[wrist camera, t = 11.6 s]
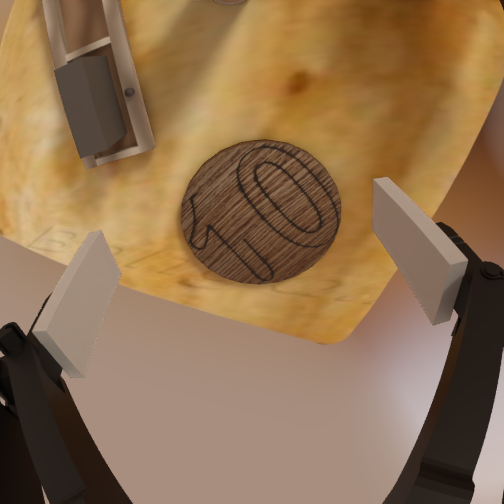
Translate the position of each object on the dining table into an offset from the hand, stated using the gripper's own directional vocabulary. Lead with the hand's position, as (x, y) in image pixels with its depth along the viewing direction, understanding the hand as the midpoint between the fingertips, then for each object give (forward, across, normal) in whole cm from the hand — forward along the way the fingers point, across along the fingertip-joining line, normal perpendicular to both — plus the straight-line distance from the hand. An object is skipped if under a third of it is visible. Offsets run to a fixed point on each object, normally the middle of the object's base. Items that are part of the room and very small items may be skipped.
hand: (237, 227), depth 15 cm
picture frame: (+30, +17, -7) cm, 36 cm away
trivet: (+32, -1, +17) cm, 36 cm away
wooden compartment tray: (+32, +17, -15) cm, 39 cm away
